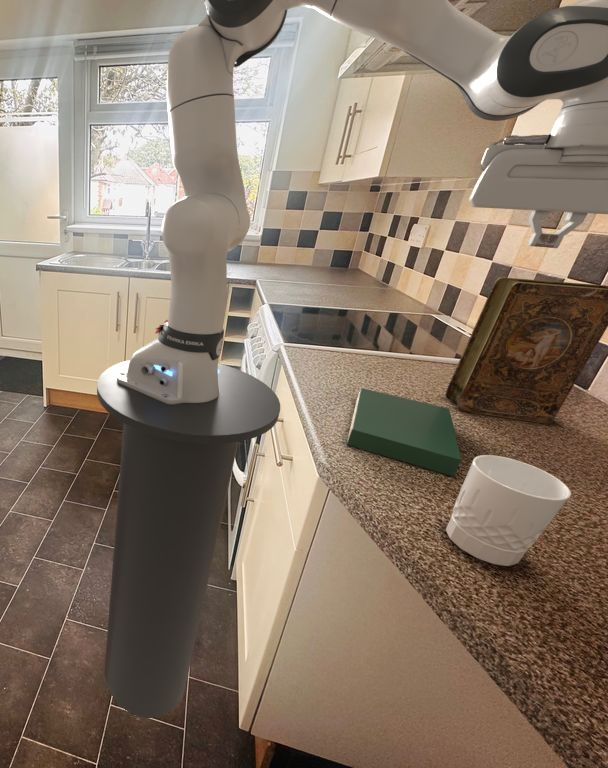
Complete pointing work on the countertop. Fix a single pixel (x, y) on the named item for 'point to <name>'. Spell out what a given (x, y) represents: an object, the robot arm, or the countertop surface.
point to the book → (529, 348)
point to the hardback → (405, 431)
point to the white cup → (504, 508)
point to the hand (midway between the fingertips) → (542, 247)
